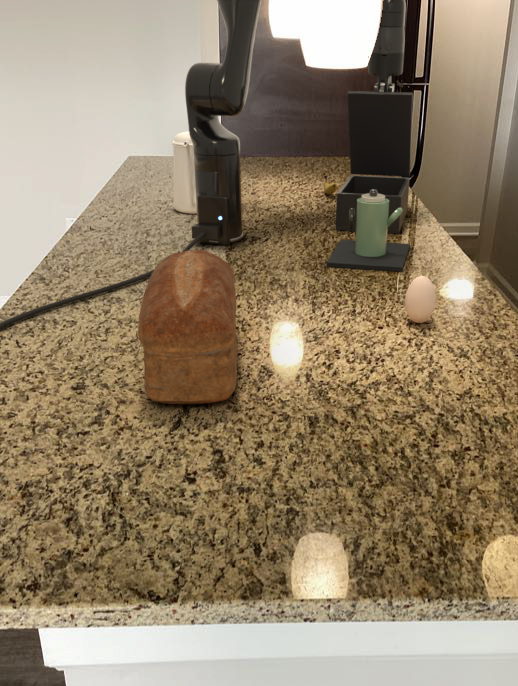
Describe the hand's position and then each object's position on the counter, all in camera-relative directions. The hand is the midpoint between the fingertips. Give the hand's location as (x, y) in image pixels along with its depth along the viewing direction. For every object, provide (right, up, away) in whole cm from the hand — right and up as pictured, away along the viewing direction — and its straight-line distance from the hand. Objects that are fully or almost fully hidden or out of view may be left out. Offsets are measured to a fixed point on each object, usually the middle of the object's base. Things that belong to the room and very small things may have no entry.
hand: (381, 135), depth 177 cm
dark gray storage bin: (-2, -19, 0) cm, 19 cm away
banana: (-10, -7, +23) cm, 26 cm away
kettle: (-5, -32, -24) cm, 40 cm away
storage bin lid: (-1, -2, -4) cm, 4 cm away
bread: (-34, -57, -68) cm, 95 cm away
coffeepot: (-43, -14, +9) cm, 46 cm away
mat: (-5, -32, -24) cm, 41 cm away
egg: (-1, -49, -55) cm, 74 cm away
